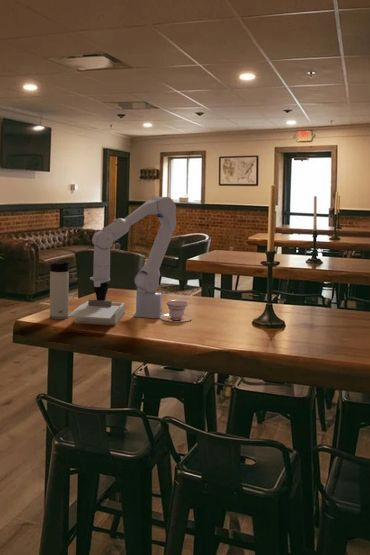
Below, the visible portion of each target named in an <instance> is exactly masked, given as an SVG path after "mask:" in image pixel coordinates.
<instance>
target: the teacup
mask: <svg viewBox="0 0 370 555" xmlns="http://www.w3.org/2000/svg"><path fill="white" fill-rule="evenodd" d="M188 304H189V303H188V302H187V301H185V300H181V299H180V300H179V299H177V300H176V299H174V300H173V299H172V300H168V301H166V306H167V307H168V308H167V309H168V310H169V313H163V314H161V315H160V317H159V319H160V320H161V321H164V322H168V321H169V320H164V319H163V318H164V317H165V316H171V318H170V319H171V320H174V319H180V320H182V317H183V316H187V317H189V318H190V320H191V321H192V320H193V317H192V316H191V315H187V314H185V310H186V307H187V306H188ZM190 320H188V322H191V321H190ZM169 323H186V322H185V321H169Z"/></svg>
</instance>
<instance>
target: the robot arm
mask: <svg viewBox="0 0 370 555" xmlns="http://www.w3.org/2000/svg"><path fill="white" fill-rule="evenodd" d="M176 211H177V206H176V203H175V202H174V200H173V199H172V198H171V197H169V196H159V195H158V196H157V195H156V196H153V197H152V198H151V199H149V200H147V201H145V202H144V203H142V205H140V206H139V207H138V208H137V209H135V210H134V211H132V212H131V213H130V214H128V215H127V216H125V217H124V218H121V217H119V218H113V220H112V222H111V223H109V225H107V226H103V227H102V228H101V229H102V230H99V231H96V232H95V233H94V234H93V236H92V238H91V242H92V244H93V246H94V247H93V275H92V276H91V277H89V280H90V281H93V283H92V288H93V290H94V293H95V296H96V300H106V299H107V298H106V297H107V294H108V290H109V288H110V286H111V283H110V281H111V278H110V276H111V272H110V271H111V247H112V246H113V244H114V242H116V241H117V240H118V239H120V238H122V237H123V236H124V235H126V234H127V233H128V232H129V230H130V227H131V226H132V225H134V224H135V223H137V222H139V221H140V220H142V219H143V218H145V217H146V216H149V215H155V216H156V217H157V219H158V221H159V224H160V226H159V228H158V231H157V234H156V235H155V238H154V242H153V245H152V247H151V249H150V250H149V251H150V252H149V255H148V257H147V260H146V263H145V264H143V266H142V267H141V268H140V271H139V272H138V273H137V274H136V276H135V277H134V285H135V286H136V287H137V289H136V291H135V292H136V293H135V294H136V296H135V298H136V300H135V313H134V314H133V316H132V317H133V318H146V319H147V318H150V319H160V316H161V315H162V311H163V310H162V300H163V295H162V292H157V290H158V288H159V285H160V277H161V272H160V268H161V265H162V262H163V260H164V258H165V255H166V252H167V250H168V248H169V245H170V242H171V239H172V237H173V234H174V232H175V230H176V227H177V214H176V213H177V212H176Z"/></svg>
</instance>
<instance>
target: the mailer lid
mask: <svg viewBox="0 0 370 555" xmlns="http://www.w3.org/2000/svg"><path fill="white" fill-rule="evenodd" d="M87 301H88V304H85V303H81V304H80V305H79V306H77V307H76V308H75V309H74V310H72V311H71V312H70V313H68V316H67V317H68V318H74V319H75V318H91V319H108V320H110V319H111V318H112V316H113V315H114V314H115V313H116V312H117V311H118V309H119V308H120V306H112V302H113V301H112V300H106V299H105V300H97V299H89V298H88V300H87Z"/></svg>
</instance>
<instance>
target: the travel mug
mask: <svg viewBox="0 0 370 555" xmlns="http://www.w3.org/2000/svg"><path fill="white" fill-rule="evenodd" d="M69 265H70V261H64V262H63V261H62V262H54V263H53V262H52V263H50V268H49V269H50V271H49V272H50V273H49V274H50V275H49V318H50V319H51V320H56V321H57V320H59V321H60V320H66V319H68V318H69V317H67V316H68V315H69V285H70V284H69V281H70V280H69V278H70V277H69V275H70V274H69V272H70V271H69Z"/></svg>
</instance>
